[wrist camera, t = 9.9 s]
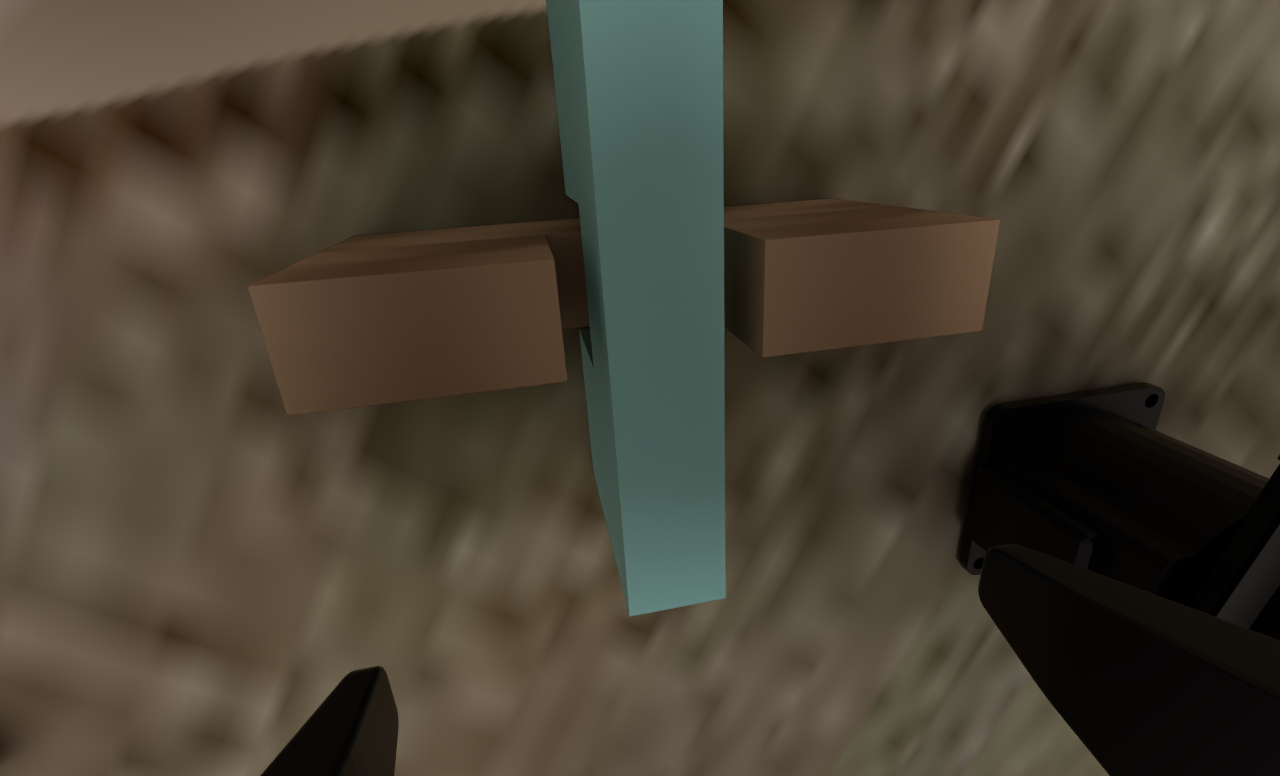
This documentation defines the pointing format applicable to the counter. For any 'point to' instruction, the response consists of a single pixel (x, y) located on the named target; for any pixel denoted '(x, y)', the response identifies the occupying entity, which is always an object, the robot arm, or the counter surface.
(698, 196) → the notched teal slat
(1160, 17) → the counter surface
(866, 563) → the counter surface
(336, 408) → the notched walnut block
